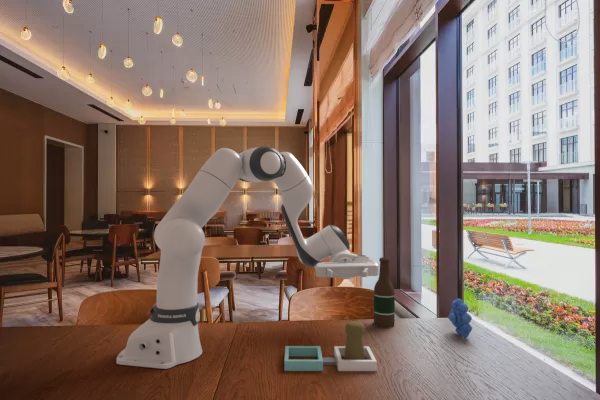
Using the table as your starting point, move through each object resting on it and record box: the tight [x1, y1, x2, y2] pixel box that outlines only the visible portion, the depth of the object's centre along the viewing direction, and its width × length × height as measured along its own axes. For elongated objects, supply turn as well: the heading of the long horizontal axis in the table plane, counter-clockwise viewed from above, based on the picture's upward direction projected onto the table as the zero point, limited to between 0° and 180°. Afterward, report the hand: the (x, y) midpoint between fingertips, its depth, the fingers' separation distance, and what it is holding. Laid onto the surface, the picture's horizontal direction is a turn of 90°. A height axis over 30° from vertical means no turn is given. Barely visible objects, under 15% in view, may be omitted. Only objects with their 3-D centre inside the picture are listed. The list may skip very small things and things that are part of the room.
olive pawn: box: [343, 320, 366, 360], centre depth 99 cm, size 6×6×11 cm
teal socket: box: [283, 345, 324, 372], centre depth 99 cm, size 10×10×2 cm
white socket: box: [322, 345, 378, 372], centre depth 99 cm, size 14×10×2 cm
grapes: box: [447, 297, 473, 339], centre depth 121 cm, size 12×7×12 cm, turn 2°
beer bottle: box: [373, 257, 396, 329], centre depth 132 cm, size 8×8×24 cm
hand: (349, 274), depth 111 cm, fingers open, 8 cm apart
